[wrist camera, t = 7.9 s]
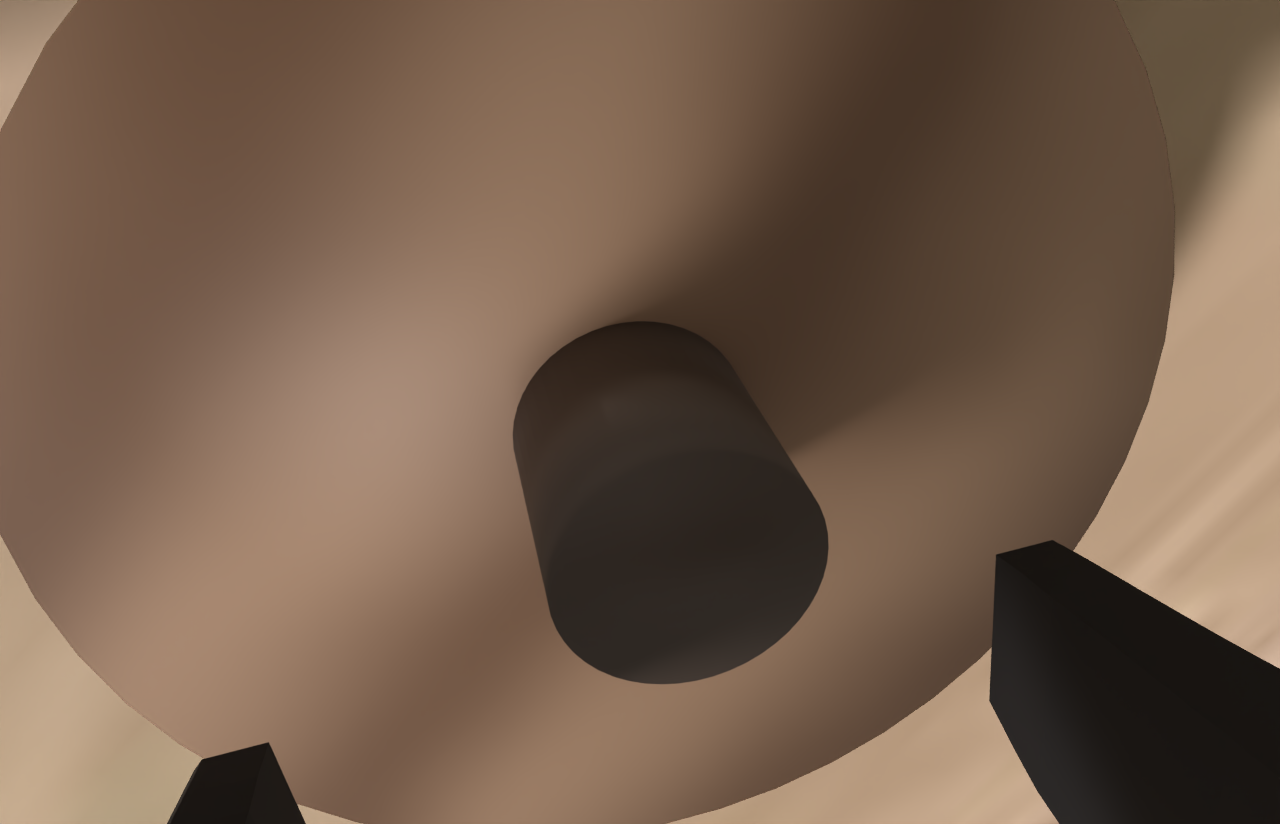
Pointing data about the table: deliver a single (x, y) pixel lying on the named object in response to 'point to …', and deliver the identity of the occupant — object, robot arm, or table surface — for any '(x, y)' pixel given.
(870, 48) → the lid
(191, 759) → the table surface
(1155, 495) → the table surface
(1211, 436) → the table surface
